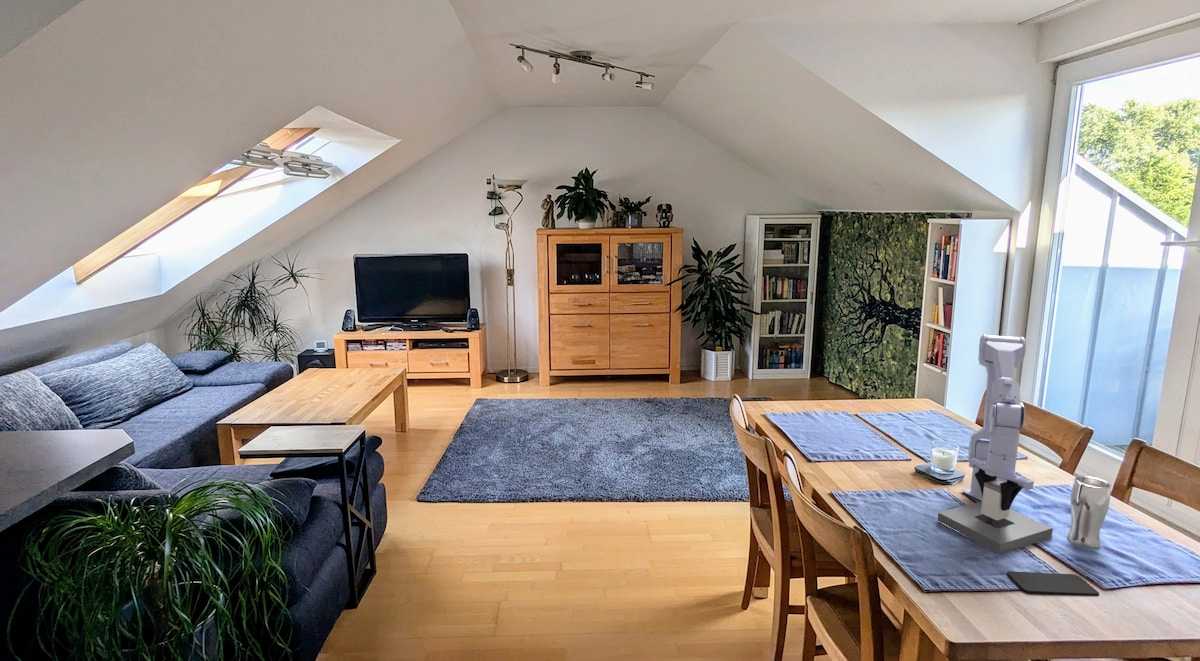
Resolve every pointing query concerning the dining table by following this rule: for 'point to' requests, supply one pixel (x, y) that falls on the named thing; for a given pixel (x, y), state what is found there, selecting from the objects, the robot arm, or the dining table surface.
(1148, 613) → the dining table surface
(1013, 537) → the socket
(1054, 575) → the smartphone
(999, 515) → the plug
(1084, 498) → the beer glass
